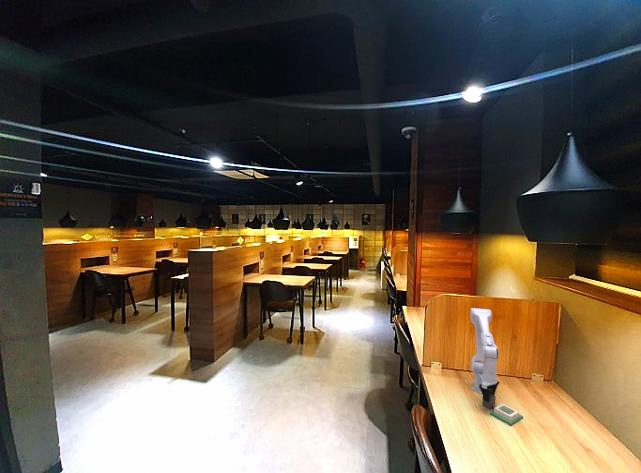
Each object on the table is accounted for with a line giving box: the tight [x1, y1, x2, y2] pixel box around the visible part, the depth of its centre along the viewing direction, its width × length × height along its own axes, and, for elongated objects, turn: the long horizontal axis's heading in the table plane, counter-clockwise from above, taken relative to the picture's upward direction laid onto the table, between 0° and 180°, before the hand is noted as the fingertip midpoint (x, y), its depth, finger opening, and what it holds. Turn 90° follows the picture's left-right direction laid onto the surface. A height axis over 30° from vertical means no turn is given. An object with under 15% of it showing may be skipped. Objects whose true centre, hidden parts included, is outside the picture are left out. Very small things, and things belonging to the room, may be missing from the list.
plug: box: [482, 394, 498, 411], centre depth 135 cm, size 4×6×6 cm
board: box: [489, 409, 524, 427], centre depth 128 cm, size 11×9×1 cm
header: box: [493, 403, 520, 421], centre depth 128 cm, size 7×7×2 cm
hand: (489, 398), depth 135 cm, fingers open, 7 cm apart
